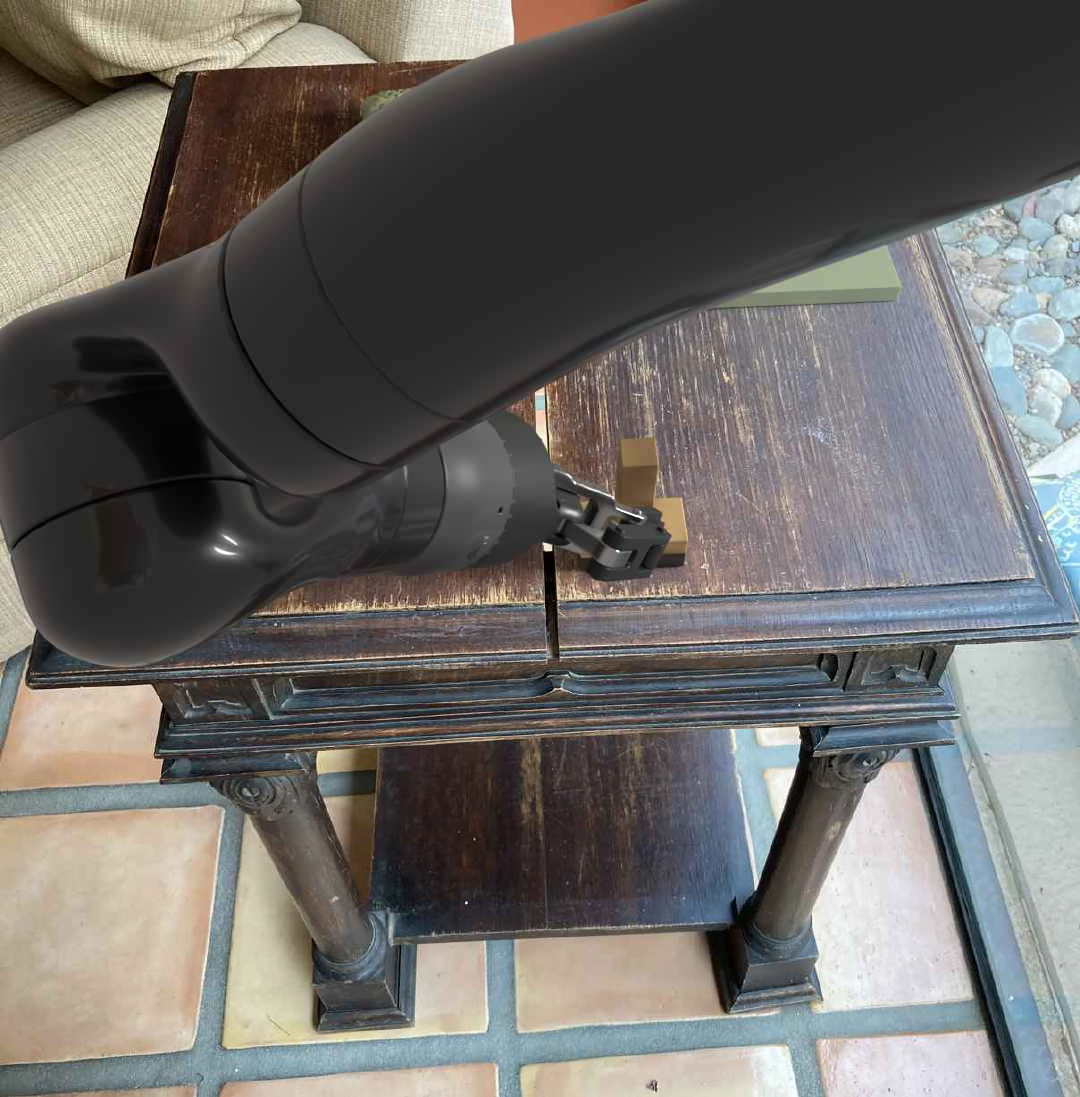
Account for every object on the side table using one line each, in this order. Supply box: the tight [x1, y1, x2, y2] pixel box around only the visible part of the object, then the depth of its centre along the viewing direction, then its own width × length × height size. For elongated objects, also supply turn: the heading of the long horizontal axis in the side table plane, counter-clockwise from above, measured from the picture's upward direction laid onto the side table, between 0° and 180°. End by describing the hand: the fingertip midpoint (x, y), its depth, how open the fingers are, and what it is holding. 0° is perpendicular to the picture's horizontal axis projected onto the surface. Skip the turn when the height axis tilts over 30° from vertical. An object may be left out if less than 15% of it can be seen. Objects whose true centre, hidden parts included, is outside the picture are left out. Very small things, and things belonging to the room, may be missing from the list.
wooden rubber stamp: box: [578, 437, 689, 572], centre depth 67 cm, size 7×4×10 cm, turn 93°
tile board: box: [712, 244, 902, 309], centre depth 92 cm, size 28×18×2 cm, turn 3°
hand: (589, 488), depth 60 cm, fingers open, 8 cm apart
